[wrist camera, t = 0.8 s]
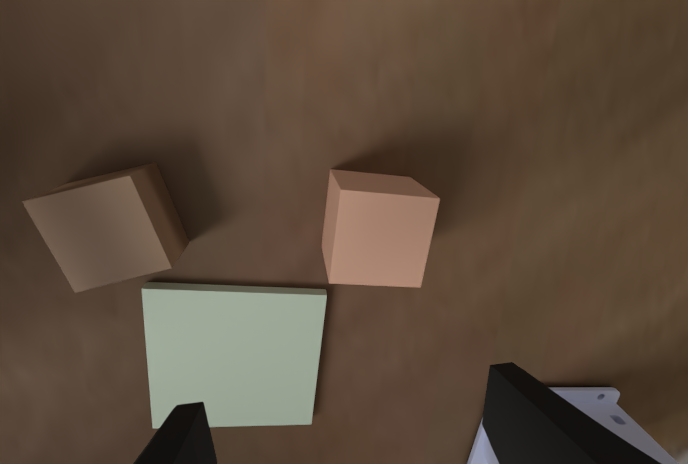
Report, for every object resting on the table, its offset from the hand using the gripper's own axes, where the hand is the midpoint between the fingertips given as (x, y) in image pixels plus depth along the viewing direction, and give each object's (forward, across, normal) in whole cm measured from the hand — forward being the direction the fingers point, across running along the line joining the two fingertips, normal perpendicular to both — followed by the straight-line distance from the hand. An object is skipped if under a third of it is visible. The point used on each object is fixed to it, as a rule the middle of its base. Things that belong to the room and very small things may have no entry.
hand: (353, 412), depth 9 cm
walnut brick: (+10, +9, -3) cm, 14 cm away
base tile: (+11, +5, +6) cm, 13 cm away
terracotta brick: (+10, -2, -2) cm, 11 cm away
